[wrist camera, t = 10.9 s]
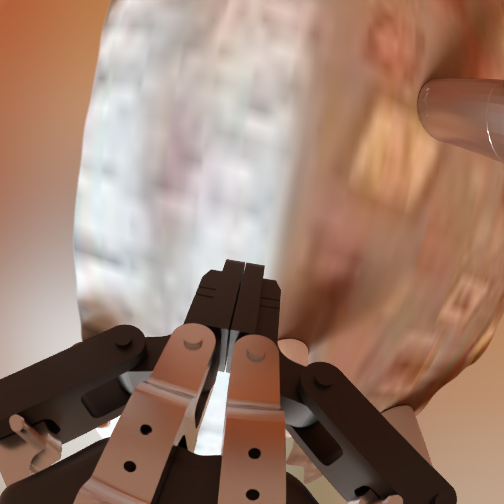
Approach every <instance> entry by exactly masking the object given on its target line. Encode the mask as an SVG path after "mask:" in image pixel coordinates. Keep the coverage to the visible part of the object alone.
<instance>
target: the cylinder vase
mask: <svg viewBox="0 0 504 504" xmlns="http://www.w3.org/2000/svg"><path fill="white" fill-rule="evenodd" d="M381 414H382V415H383V416H384V417H385V419H386V420H387V421H388V422H389V423H390V424H391V425H392V426H393V427H394V428H395V429H396V430H397V431H398V432H399V433H400V434H401V435H402V436H403V437H404V438H405V439H406V440H407V441H408V442H409V443H410V444H411V445H412V446H413V447H414V449H415V450H416V451H417V452H418V453H419V454H420V455H421V456H422V457H423V458H424V459H425V460H426V461H427V462H428V463H429V464H430V465H431V466H432V463H431V460H430V457H429V454H428V451H427V448H426V445H425V442H424V439H423V436H422V433H421V430H420V428H419V425H418V422H417V419H416V417H415V414H414V411H413V409H412V407H410V406H407V405H402V406H397V407H393V408H391V409H388V410H386V411H384V412H383V413H381ZM432 467H433V466H432Z"/></svg>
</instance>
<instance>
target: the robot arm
mask: <svg viewBox="0 0 504 504" xmlns="http://www.w3.org/2000/svg"><path fill="white" fill-rule="evenodd" d="M418 114H419V117H420V120H421V123H422V125H423V127H424V128H425V130H426V131H427V132H428V133H429V134H430V135H431V136H432V137H434V138H435V139H437V140H440V141H443V142H446V143H449V144H453V145H455V146H458V147H461V148H464V149H467V150H470V151H473V152H476V153H478V154H481V155H484V156H486V157H489V158H492V159H494V160H497V161H499V162H502V163H504V80H496V79H473V78H445V79H433V80H430V81H428V82H427V83H426V84H425V85H424V86H423V87H422V89H421V91H420V93H419V97H418ZM264 267H265V266H264V265H258V264H252V263H246V266H245V262H240V261H234V260H228V259H227V260H226V262H225V265H224V268H223V271H217V270H210V271H209V272H208V273H206V274H205V275H204V276H203V277H202V279H201V282H200V284H199V288H198V289H197V292H196V295H195V297H194V299H193V302H192V304H191V306H190V309H189V312H188V314H187V317H186V319H185V322H184V324H183V325H181V326H179V327H178V328H176V329H175V330H174V331H173V333H172V334H171V335H168V336H163V337H145V336H144V334H143V333H142V331H141V330H140V329H138V328H136V327H134V326H131V325H119V326H116V327H113V328H111V329H109V330H107V331H105V332H103V333H101V334H98V335H96V336H94V337H92V338H90V339H88V340H85V341H83V342H81V343H79V344H77V345H75V346H72V347H70V348H68V349H66V350H64V351H62V352H60V353H57V354H55V355H53V356H51V357H49V358H47V359H44V360H42V361H40V362H38V363H35V364H33V365H31V366H29V367H27V368H24V369H22V370H20V371H18V372H16V373H13V374H11V375H9V376H7V377H5V378H3V379H0V472H1V474H2V477H3V479H4V482H5V484H6V486H7V488H6V489H5V490H4V491H3V492H2V494H1V496H0V504H319V503H318V502H317V501H316V500H315V498H314V497H313V496H312V494H311V493H310V492H309V491H308V489H307V488H306V487H305V486H304V485H303V484H302V483H301V482H300V481H299V480H298V479H297V478H295V477H294V476H293V475H291V474H290V473H288V472H286V438H285V437H286V435H285V429H286V430H287V431H288V432H289V434H290V435H291V436H292V437H293V439H294V440H295V441H296V443H297V444H298V445H299V446H300V448H301V449H302V450H303V451H304V453H305V454H306V455H307V456H308V457H309V459H310V460H311V461H312V462H313V463H314V465H315V466H316V467H317V468H318V469H319V471H320V472H321V473H322V474H323V475H324V477H326V479H327V480H328V481H329V482H330V483H331V484H332V486H333V487H334V488H335V489H336V490H337V491H338V492H339V494H340V495H341V496H342V497H343V498H344V499H345V500H346V501H347V504H456V503H457V496H456V492H455V490H454V488H453V487H452V486H451V485H450V484H449V483H448V482H447V481H446V480H445V479H444V478H443V477H442V476H441V475H440V474H439V473H438V472H437V471H436V470H435V469H434V468H433V467H432V466H431V465H430V464H429V463H428V462H427V461H426V460H425V459H424V458H423V457H422V456H421V455H420V454H419V453H418V452H417V451H416V450H415V449H414V447H413V446H412V445H411V444H410V443H409V442H408V441H407V440H406V439H405V438H404V437H403V436H402V435H401V434H400V433H399V432H398V431H397V430H396V429H395V428H394V427H393V426H392V425H391V424H390V423H389V422H388V421H387V420H386V419H385V417H384V416H383V415H382V414H381V413H380V412H379V411H378V410H377V409H376V408H375V407H374V406H373V405H372V404H371V403H370V402H369V401H368V400H367V399H366V398H365V397H364V395H363V394H362V393H361V392H360V391H359V390H358V389H357V388H356V387H355V386H354V385H353V384H352V383H351V382H350V381H349V380H348V379H347V377H346V376H345V375H344V374H343V373H342V372H341V371H340V370H339V369H338V368H337V367H335V366H333V365H331V364H329V363H325V362H315V363H311V364H309V365H308V366H303V365H301V364H299V363H296V362H294V361H292V360H290V359H288V358H287V357H286V356H285V355H284V354H283V353H282V352H281V350H280V349H279V346H278V326H279V311H280V310H279V309H280V296H281V289H280V288H279V286H278V284H277V282H276V281H275V280H269V279H263V275H264ZM244 268H245V271H244ZM227 357H228V359H227ZM226 361H227V368H226V372H228V373H230V378H229V386H228V393H227V402H226V412H225V421H224V430H223V440H222V448H221V455H212V456H201V455H197V454H195V453H194V450H195V446H196V442H197V436H198V432H199V429H200V426H201V423H202V420H203V417H204V414H205V411H206V408H207V405H208V402H209V399H210V396H211V393H212V390H213V386H214V384H215V380H216V376H217V372H218V371H222V372H224V370H225V366H226ZM120 415H121V416H120ZM118 416H120V418H119V420H118V422H117V424H116V426H115V428H114V431H113V433H112V435H111V437H108V438H105V439H102V440H99V441H97V442H95V443H93V444H91V445H90V446H88V447H86V448H84V449H82V450H80V451H78V452H77V453H75V454H73V455H71V456H69V457H67V458H65V459H63V460H61V461H59V462H57V463H55V462H56V461H58V460H59V459H60V458H61V452H62V444H64V443H66V442H69V441H71V440H73V439H75V438H77V437H79V436H81V435H83V434H85V433H87V432H89V431H91V430H93V429H95V428H97V427H99V426H101V425H103V424H105V423H107V422H109V421H110V420H112V419H114V418H116V417H118ZM53 463H55V464H54V465H52V464H53Z"/></svg>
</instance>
